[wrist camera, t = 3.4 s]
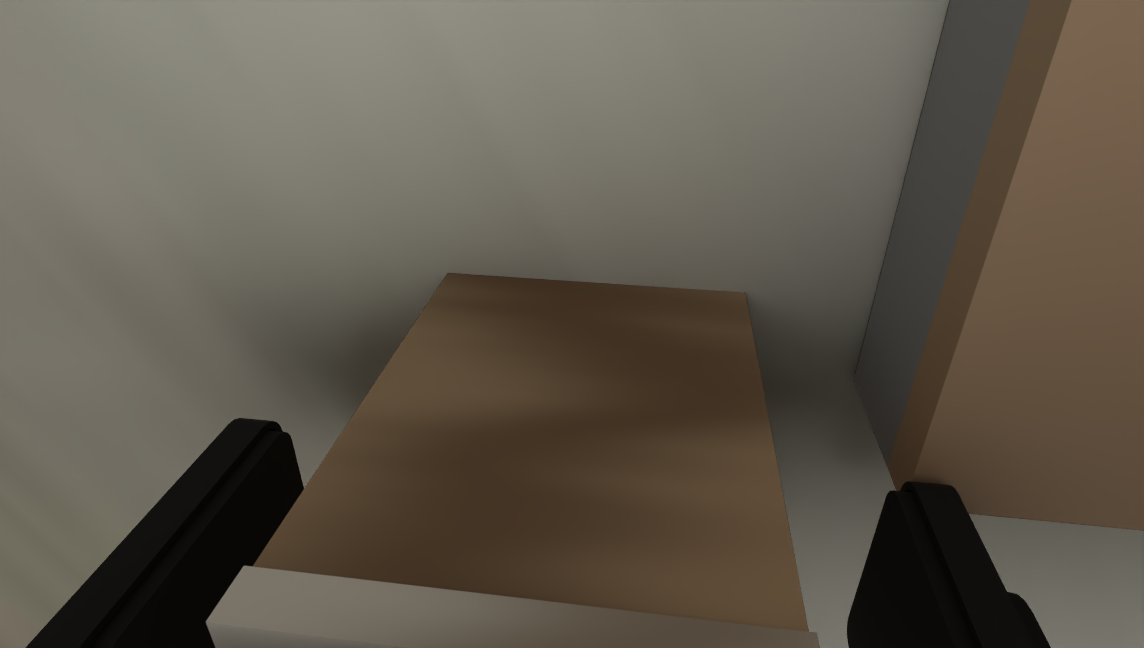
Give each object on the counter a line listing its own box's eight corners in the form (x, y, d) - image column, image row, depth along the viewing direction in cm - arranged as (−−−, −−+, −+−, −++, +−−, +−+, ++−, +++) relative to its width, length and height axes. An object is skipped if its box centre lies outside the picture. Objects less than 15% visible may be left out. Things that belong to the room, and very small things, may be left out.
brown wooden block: (748, 289, 11) (830, 702, 5) (714, 518, 14) (743, 972, 8) (445, 269, 12) (205, 621, 6) (465, 492, 14) (312, 898, 8)
